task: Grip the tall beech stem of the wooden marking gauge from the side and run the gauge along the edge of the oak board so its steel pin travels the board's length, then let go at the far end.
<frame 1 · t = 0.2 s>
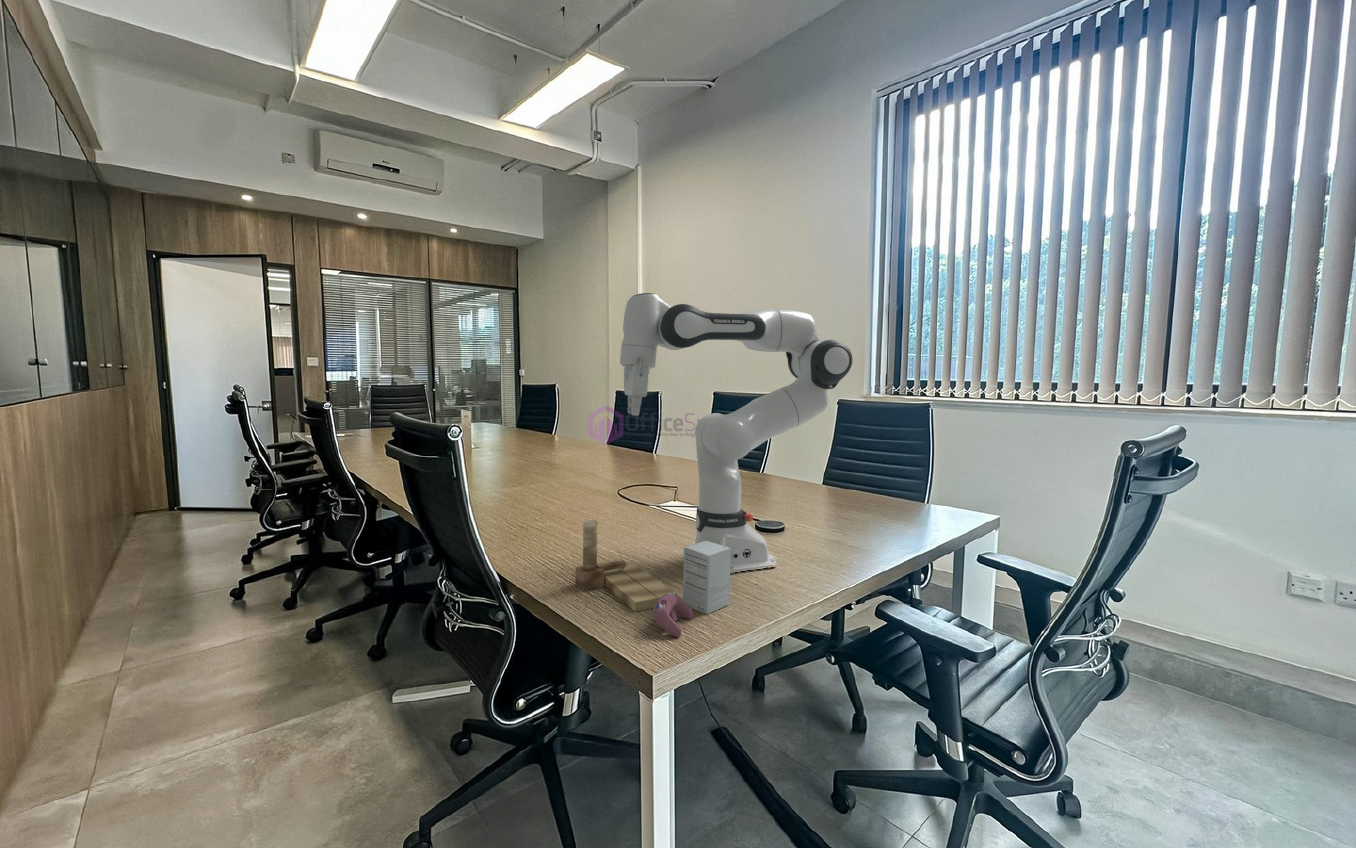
hand: (633, 414, 135), 39 cm above the table, tool pointing down, fingers open, 8 cm apart
board: (633, 589, 124), on the table
marking gauge: (589, 585, 125), on the table
supplement box: (705, 605, 116), on the table
video game controller: (672, 627, 106), on the table
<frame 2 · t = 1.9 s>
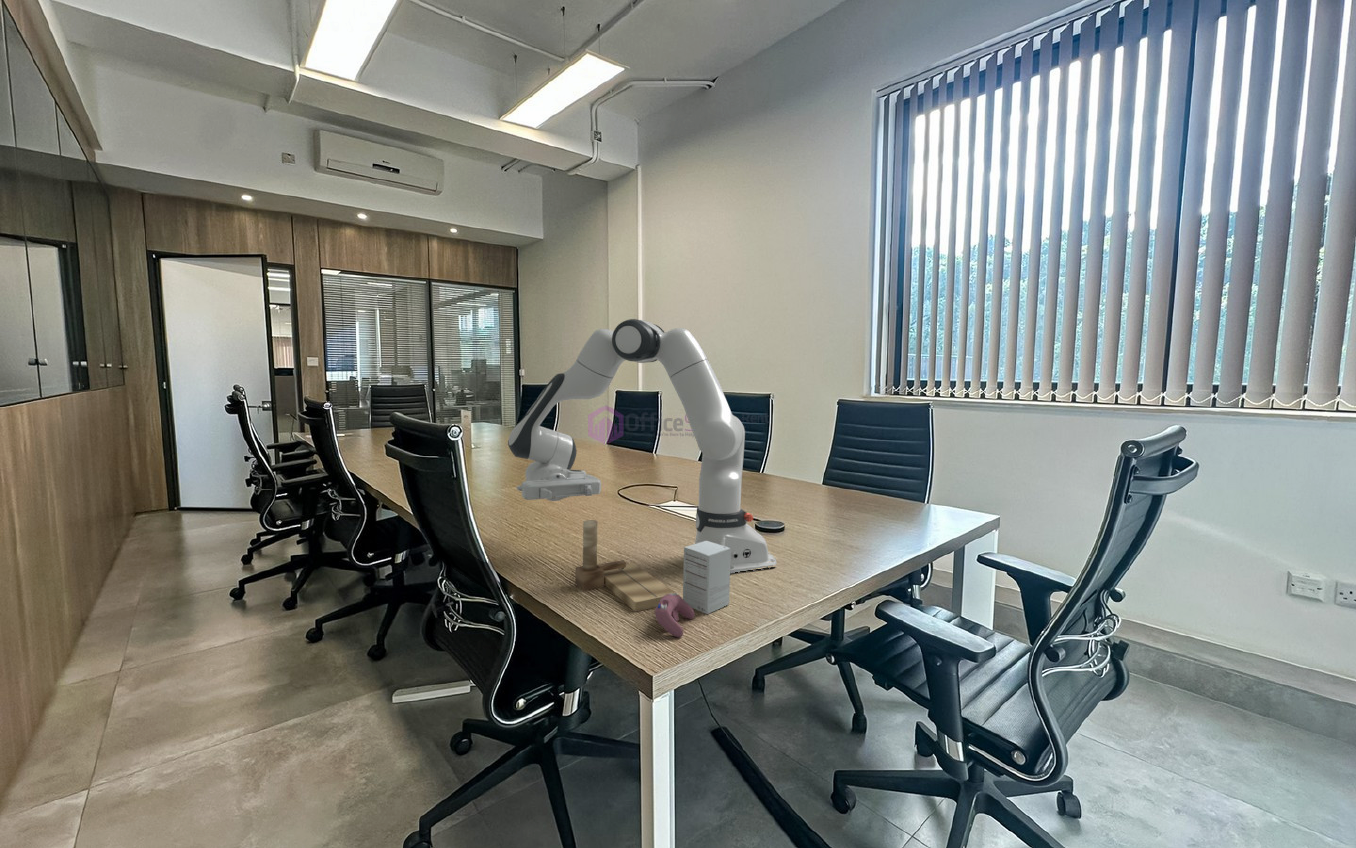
hand: (571, 494, 134), 19 cm above the table, tool horizontal, fingers open, 8 cm apart
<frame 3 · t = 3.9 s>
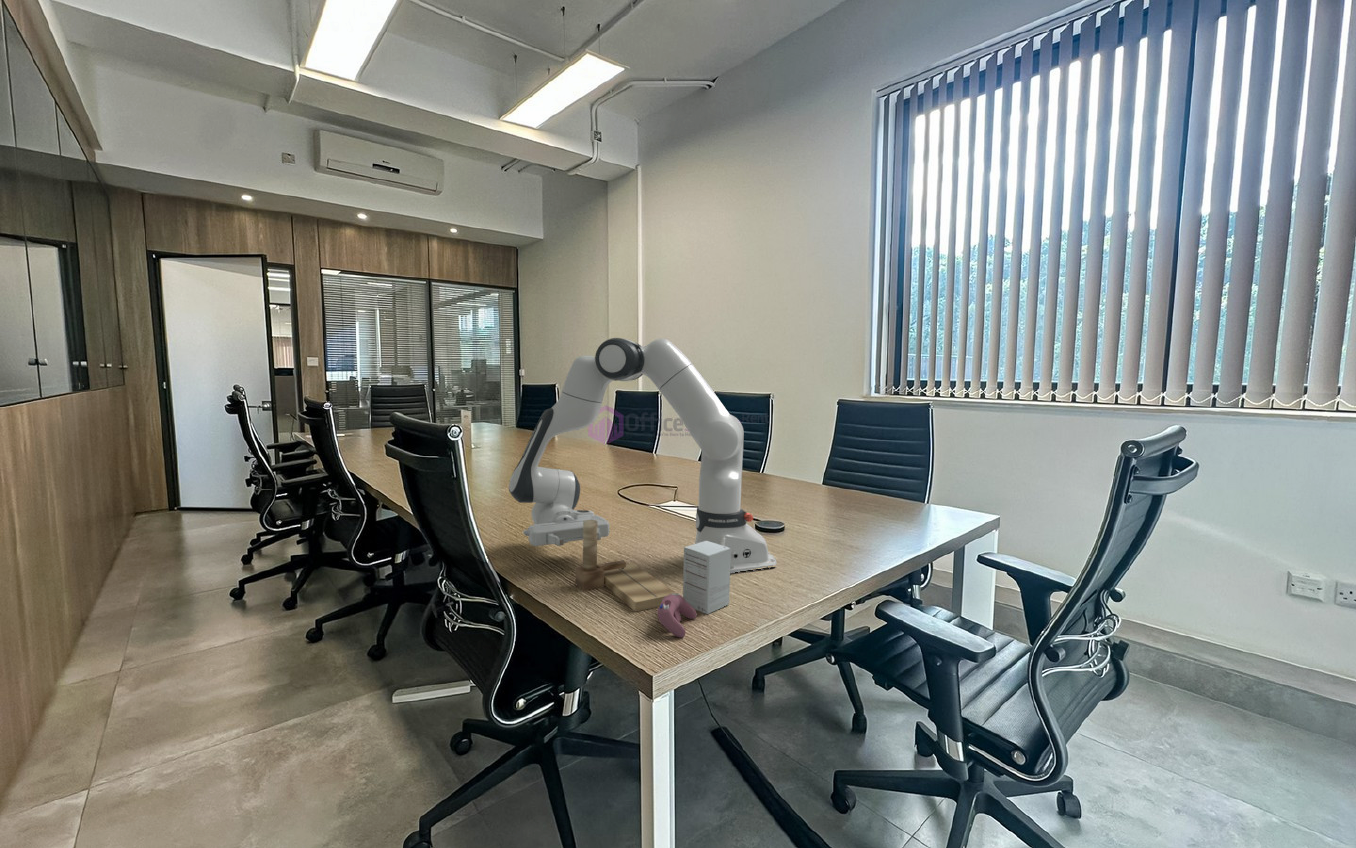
hand: (579, 539, 130), 9 cm above the table, tool horizontal, fingers open, 8 cm apart
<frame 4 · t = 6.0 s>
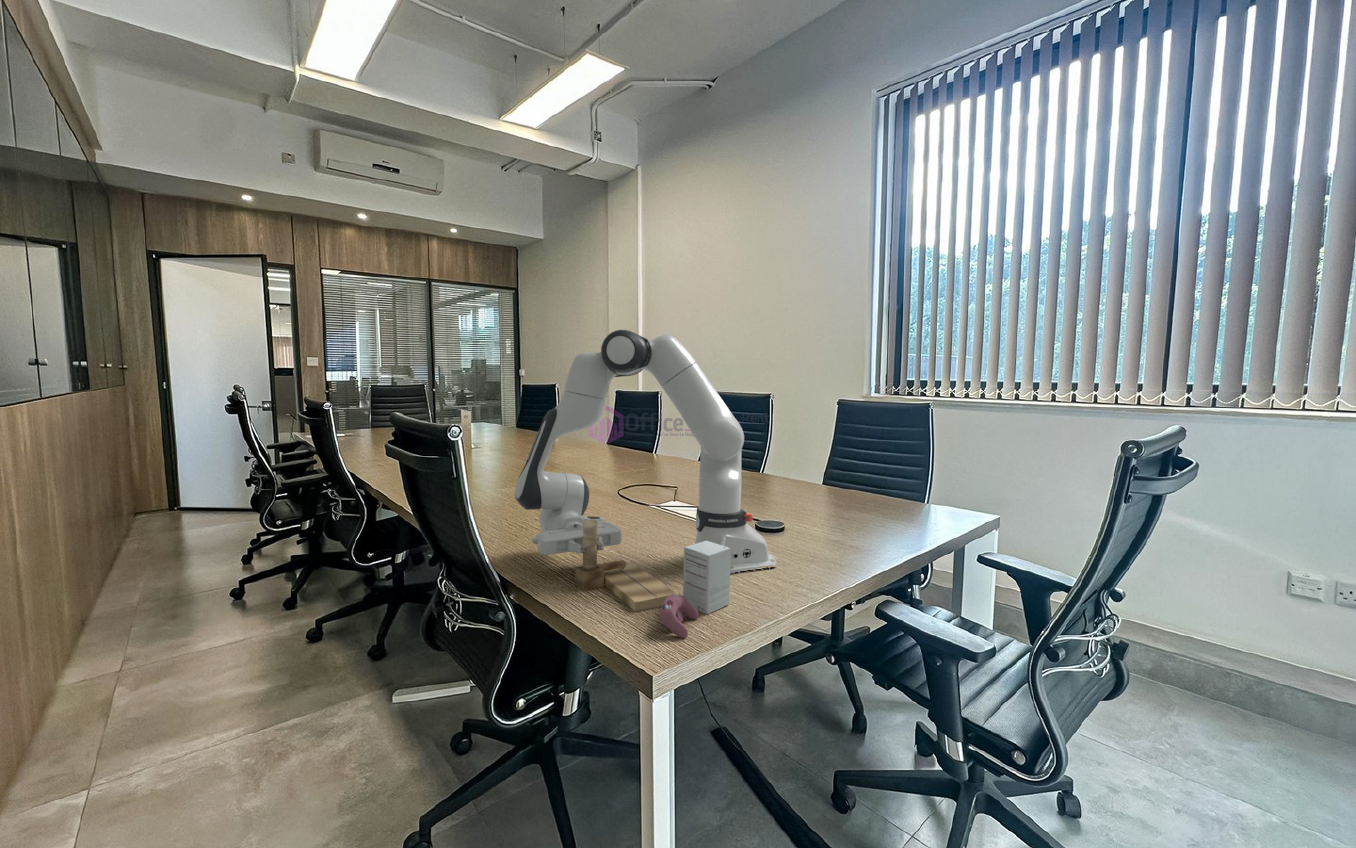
hand: (591, 548, 124), 9 cm above the table, tool horizontal, fingers closed on marking gauge, 3 cm apart
marking gauge: (589, 585, 125), on the table, touching gripper
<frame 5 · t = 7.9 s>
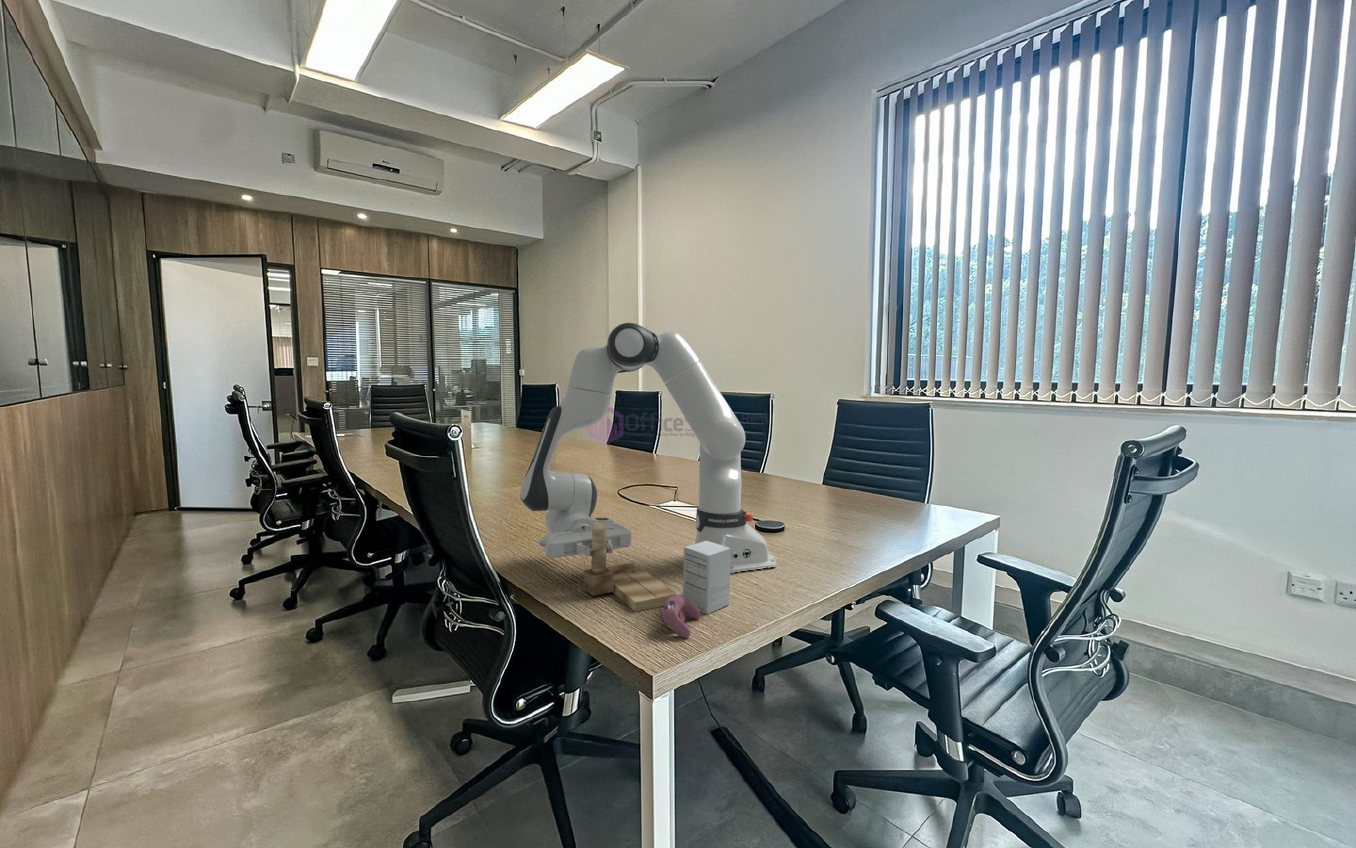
hand: (600, 551, 119), 10 cm above the table, tool horizontal, fingers closed on marking gauge, 3 cm apart
marking gauge: (598, 589, 121), point 1 cm above the table, touching gripper
when the fingers open (9 cm above the table, at t = 9.9 s): marking gauge stays where it is, on the table.
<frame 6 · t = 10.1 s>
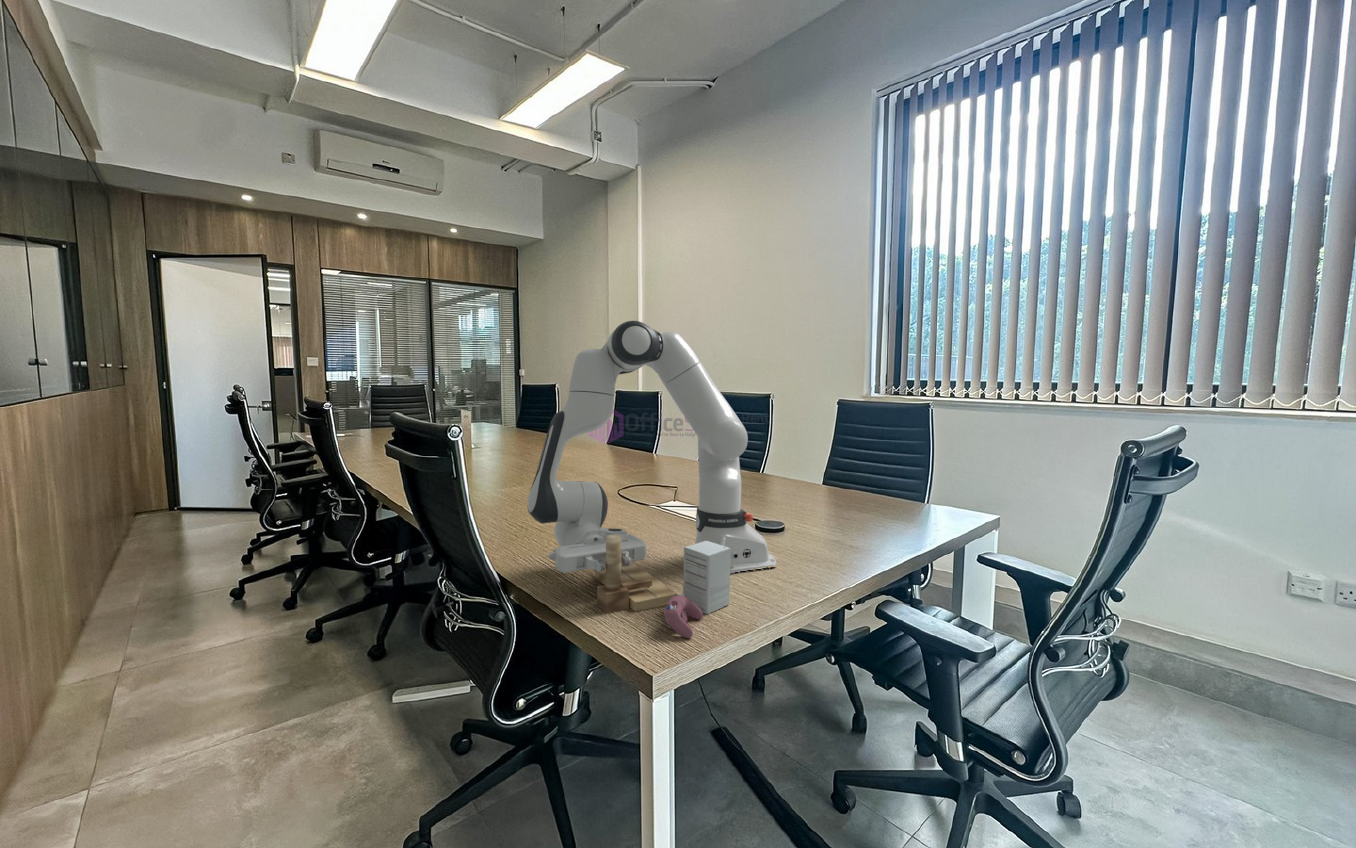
hand: (615, 565, 112), 9 cm above the table, tool horizontal, fingers open, 5 cm apart
marking gauge: (612, 606, 114), on the table
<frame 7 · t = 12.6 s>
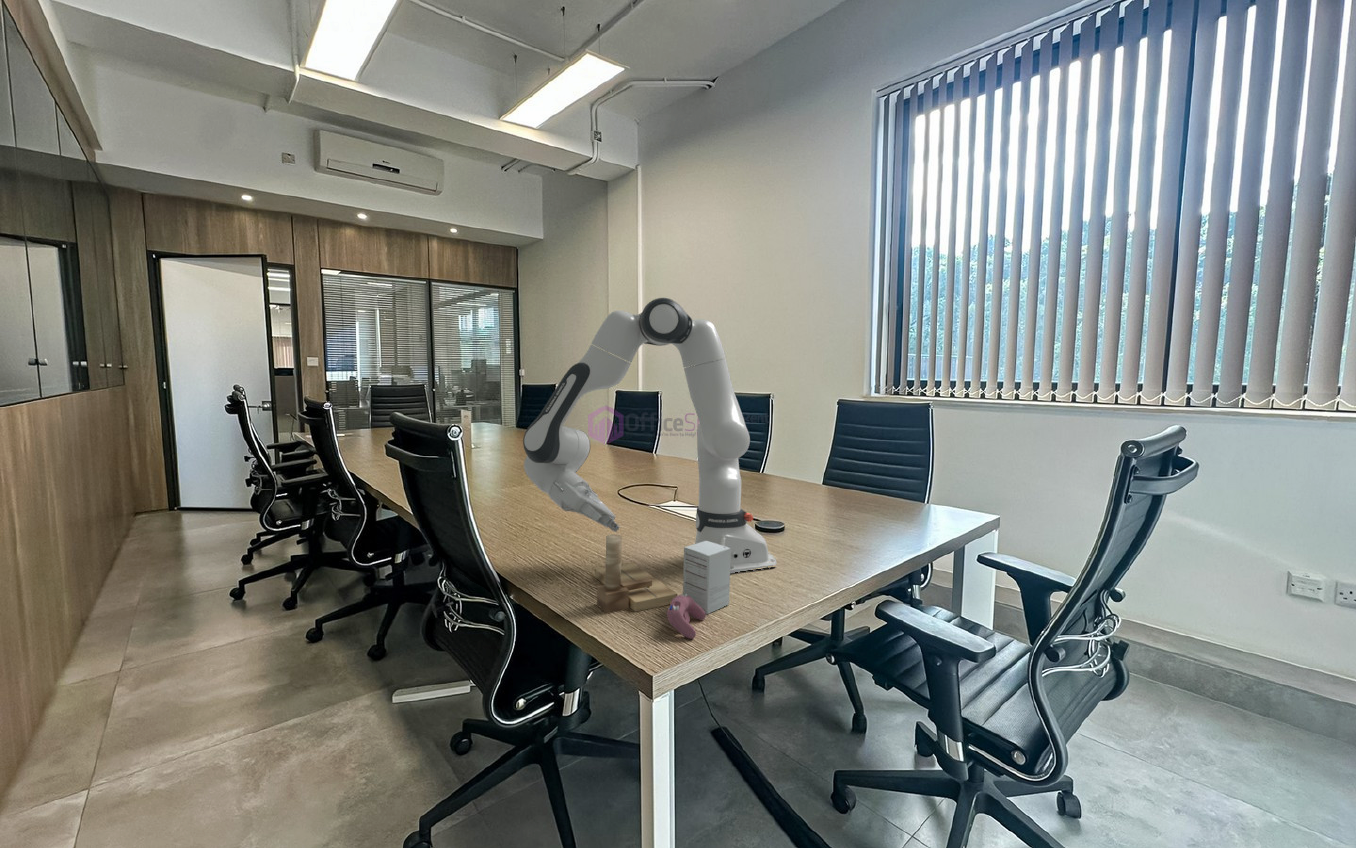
hand: (608, 524, 128), 13 cm above the table, tool tilted 65°, fingers open, 8 cm apart
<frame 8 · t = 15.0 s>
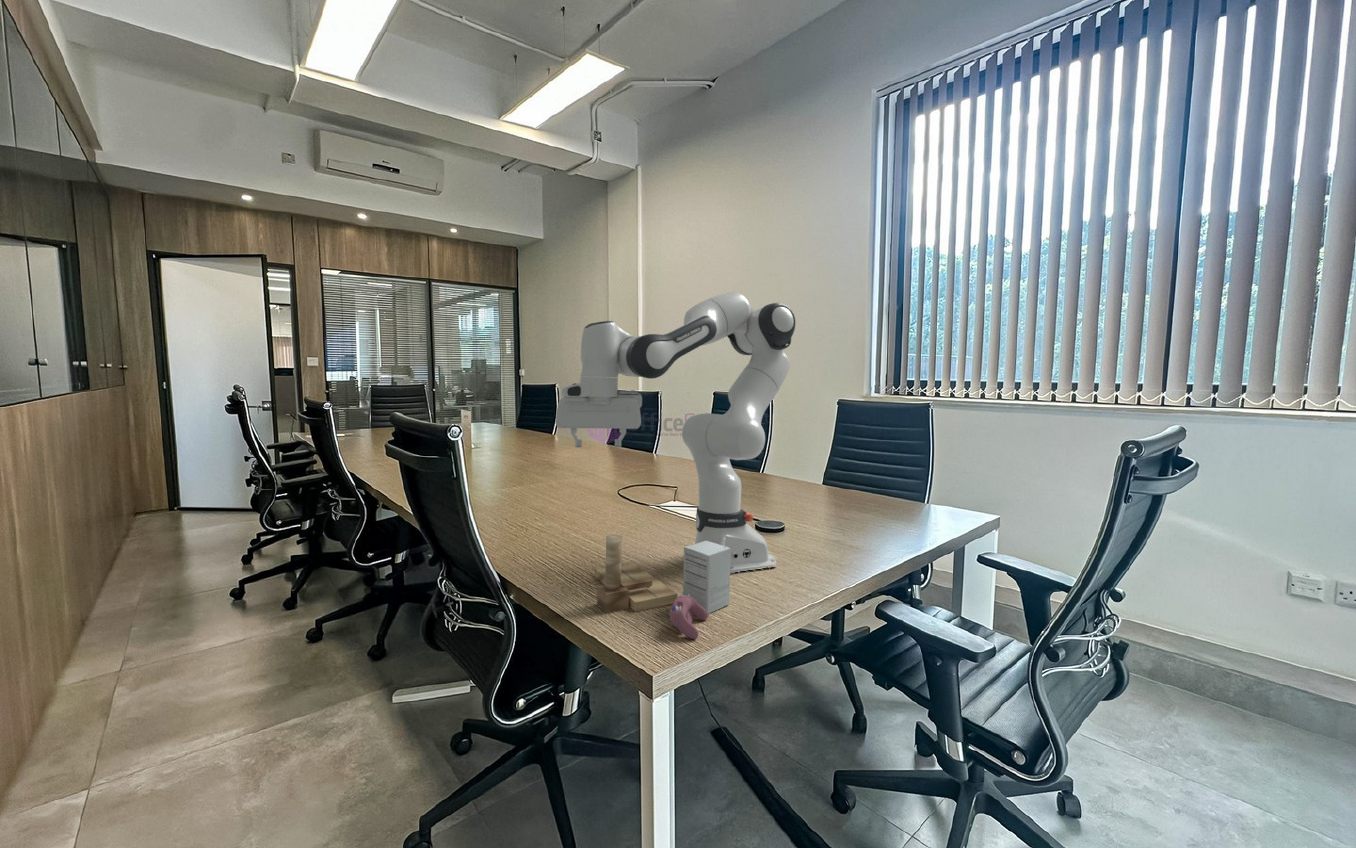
hand: (598, 447, 131), 31 cm above the table, tool pointing down, fingers open, 8 cm apart
at the end: marking gauge inside the target area (0.1 cm from its centre), on the table; marking gauge tilted 0°; the gripper is holding nothing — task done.
